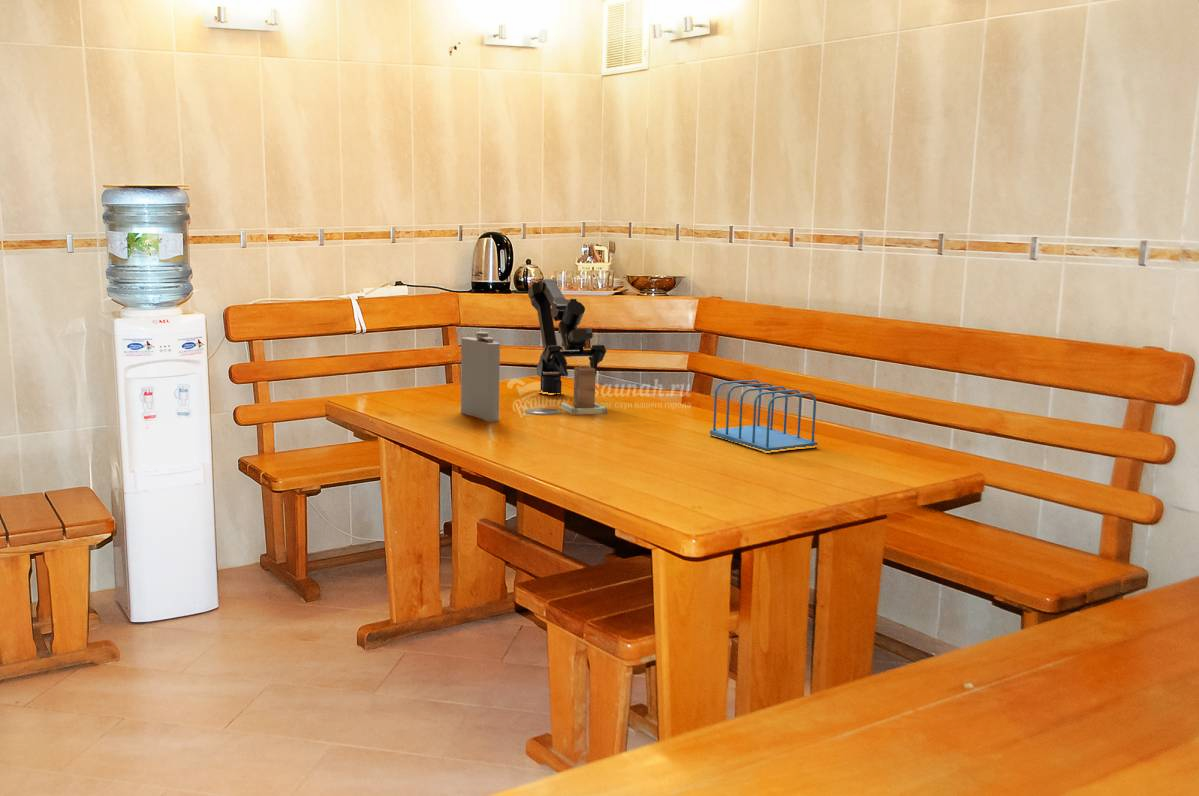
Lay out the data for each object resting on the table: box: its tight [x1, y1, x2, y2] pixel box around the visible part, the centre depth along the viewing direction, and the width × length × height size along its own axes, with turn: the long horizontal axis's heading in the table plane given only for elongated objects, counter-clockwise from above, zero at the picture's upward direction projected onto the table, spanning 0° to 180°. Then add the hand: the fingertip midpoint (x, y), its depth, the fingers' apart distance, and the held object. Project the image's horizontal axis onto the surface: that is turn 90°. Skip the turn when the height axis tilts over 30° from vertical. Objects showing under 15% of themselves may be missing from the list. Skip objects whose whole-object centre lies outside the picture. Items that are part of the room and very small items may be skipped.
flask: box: [460, 331, 501, 423], centre depth 324 cm, size 17×5×25 cm, turn 37°
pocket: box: [560, 402, 608, 416], centre depth 337 cm, size 11×11×2 cm
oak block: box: [573, 366, 597, 408], centre depth 336 cm, size 5×5×13 cm
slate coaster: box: [523, 407, 562, 416], centre depth 333 cm, size 11×11×1 cm
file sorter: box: [709, 379, 818, 451], centre depth 300 cm, size 25×17×15 cm
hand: (581, 375), depth 339 cm, fingers open, 9 cm apart
